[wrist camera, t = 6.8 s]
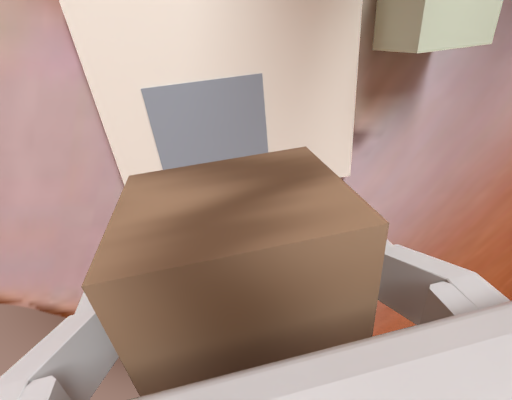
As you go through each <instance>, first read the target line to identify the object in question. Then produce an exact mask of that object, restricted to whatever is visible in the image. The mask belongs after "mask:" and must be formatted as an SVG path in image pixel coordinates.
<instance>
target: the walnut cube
mask: <svg viewBox="0 0 512 400" xmlns="http://www.w3.org/2000/svg"><path fill="white" fill-rule="evenodd" d="M388 227H389V222H387V221H386V220H385V219H384V218H383V217H382V216H381V215H380V214H379V213H378V212H377V211H376V210H374V209H373V208H372V207H371V206H370V205H369V204H368V203H367V202H366V201H365V200H364V199H362V198H361V197H360V196H359V195H358V194H357V193H356V192H355V191H354V190H353V189H352V188H351V187H349V186H348V185H347V184H346V183H345V182H344V181H343V180H342V179H341V178H340V177H339V176H337V175H336V174H335V173H334V172H333V171H332V170H331V169H330V168H329V167H328V166H327V165H325V164H324V163H323V162H322V161H321V160H320V159H319V158H318V157H317V156H316V155H315V154H314V153H312V152H311V151H310V150H309V149H308V148H307V147H306V146H305V147H299V148H293V149H287V150H281V151H275V152H269V153H263V154H257V155H251V156H245V157H239V158H232V159H226V160H220V161H214V162H208V163H202V164H196V165H190V166H184V167H178V168H172V169H166V170H160V171H154V172H148V173H142V174H136V175H130V176H129V177H128V179H127V181H126V184H125V186H124V188H123V191H122V193H121V195H120V198H119V200H118V202H117V205H116V207H115V209H114V212H113V214H112V216H111V219H110V221H109V223H108V226H107V228H106V230H105V233H104V235H103V237H102V240H101V242H100V244H99V247H98V249H97V251H96V254H95V256H94V258H93V261H92V263H91V265H90V268H89V270H88V272H87V275H86V277H85V279H84V282H83V284H82V286H81V287H82V289H83V291H84V292H85V294H86V296H87V298H88V300H89V302H90V304H91V306H92V307H93V309H94V311H95V313H96V315H97V317H98V319H99V321H100V322H101V324H102V326H103V328H104V330H105V332H106V334H107V335H108V337H109V339H110V341H111V343H112V345H113V347H114V349H115V350H116V352H117V354H118V356H119V358H120V360H121V362H122V364H123V365H124V367H125V369H126V371H127V373H128V375H129V377H130V378H131V380H132V382H133V384H134V386H135V388H136V389H137V392H138V393H139V395H140V396H144V395H148V394H152V393H156V392H160V391H164V390H168V389H171V388H175V387H179V386H183V385H187V384H191V383H195V382H199V381H202V380H206V379H210V378H214V377H218V376H222V375H226V374H229V373H233V372H237V371H241V370H245V369H249V368H253V367H257V366H260V365H264V364H268V363H272V362H276V361H280V360H284V359H288V358H291V357H295V356H299V355H303V354H307V353H311V352H315V351H319V350H322V349H326V348H330V347H334V346H338V345H342V344H346V343H350V342H353V341H357V340H361V339H365V338H369V337H372V334H373V328H374V321H375V314H376V308H377V301H378V294H379V288H380V281H381V274H382V268H383V261H384V254H385V247H386V241H387V234H388Z"/></svg>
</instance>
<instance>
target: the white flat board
mask: <svg viewBox="0 0 512 400" xmlns="http://www.w3.org/2000/svg"><path fill="white" fill-rule="evenodd" d="M59 2H60V5H61V8H62V11H63V13H64V16H65V19H66V22H67V25H68V27H69V30H70V33H71V36H72V39H73V42H74V44H75V47H76V50H77V53H78V56H79V59H80V61H81V64H82V67H83V70H84V73H85V76H86V78H87V81H88V84H89V87H90V90H91V93H92V95H93V98H94V101H95V104H96V107H97V109H98V112H99V115H100V118H101V121H102V124H103V126H104V129H105V132H106V135H107V138H108V141H109V143H110V146H111V149H112V152H113V155H114V158H115V160H116V163H117V166H118V169H119V172H120V175H121V177H122V180H123V183H124V186H125V184H126V181H127V179H128V177H129V176H130V175H136V174H142V173H148V172H154V171H160V170H166V169H172V168H178V167H184V166H190V165H196V164H202V163H208V162H214V161H220V160H226V159H232V158H239V157H245V156H251V155H257V154H263V153H269V152H275V151H281V150H287V149H293V148H299V147H305V146H306V147H307V148H308V149H309V150H310V151H311V152H312V153H314V154H315V155H316V156H317V157H318V158H319V159H320V160H321V161H322V162H323V163H324V164H325V165H327V166H328V167H329V168H330V169H331V170H332V171H333V172H334V173H335V174H336V175H337V176H339V177H340V178H341V177H347V176H350V172H351V158H352V144H353V130H354V116H355V101H356V87H357V73H358V59H359V45H360V31H361V16H362V2H363V0H59Z"/></svg>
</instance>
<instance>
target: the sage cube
mask: <svg viewBox="0 0 512 400" xmlns="http://www.w3.org/2000/svg"><path fill="white" fill-rule="evenodd" d="M502 4H503V0H377V5H376V16H375V27H374V38H373V49H372V50H379V51H391V52H404V53H425V52H433V51H441V50H448V49H456V48H464V47H472V46H480V45H487V44H492V41H493V37H494V33H495V30H496V26H497V22H498V18H499V15H500V11H501V7H502Z"/></svg>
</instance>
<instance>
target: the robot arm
mask: <svg viewBox="0 0 512 400" xmlns="http://www.w3.org/2000/svg"><path fill="white" fill-rule="evenodd" d="M378 300H379V301H380V302H382V303H384V304H385V305H387V306H388V307H390V308H391V309H393V310H395V311H396V312H398V313H399V314H401V315H402V316H404V317H405V318H407V319H409V320H410V321H412V322H413V323H415V324H416V325H415V326H411V327H408V328H404V329H400V330H396V331H392V332H388V333H384V334H380V335H377V336H373V337H369V338H365V339H361V340H357V341H353V342H350V343H346V344H342V345H338V346H334V347H330V348H326V349H322V350H319V351H315V352H311V353H307V354H303V355H299V356H295V357H291V358H288V359H284V360H280V361H276V362H272V363H268V364H264V365H260V366H257V367H253V368H249V369H245V370H241V371H237V372H233V373H229V374H226V375H222V376H218V377H214V378H210V379H206V380H202V381H199V382H195V383H191V384H187V385H183V386H179V387H175V388H171V389H168V390H164V391H160V392H156V393H152V394H148V395H144V396H140V397H137V398H133V399H129V400H512V301H510V300H509V299H508V298H506V297H505V296H504V295H503V294H502V293H500V292H499V291H498V290H497V289H495V288H494V287H493V286H492V285H491V284H489V283H488V282H487V281H486V280H484V279H483V278H482V277H481V276H479V275H478V274H477V273H476V272H473V271H470V270H467V269H465V268H462V267H459V266H456V265H454V264H451V263H448V262H445V261H442V260H440V259H437V258H434V257H431V256H429V255H426V254H423V253H420V252H418V251H415V250H412V249H409V248H406V247H404V246H401V245H398V244H396V245H393V244H392V243H391V242H390V241H389V240H388V239H387V241H386V247H385V254H384V261H383V268H382V274H381V281H380V288H379V294H378ZM118 358H119V356H118V354H117V352H116V350H115V349H114V347H113V345H112V343H111V341H110V339H109V337H108V335H107V334H106V332H105V330H104V328H103V326H102V324H101V322H100V321H99V319H98V317H97V315H96V313H95V311H94V309H93V307H92V306H91V304H90V302H89V300H88V298H87V296H86V294H85V292H83V295H82V297H81V299H80V302H79V304H78V307H77V309H76V312H75V314H74V315H71V316H68V317H67V318H66V319H65V320H64V321H63V322H62V323H60V324H59V325H58V326H57V327H56V328H55V329H54V330H53V331H51V332H50V333H49V334H48V335H47V336H46V337H45V338H44V339H42V340H41V341H40V342H39V343H38V344H37V345H36V346H35V347H33V348H32V349H31V350H30V351H29V352H28V353H27V354H26V355H24V356H23V357H22V358H21V359H20V360H19V361H18V362H17V363H15V364H14V365H13V366H12V367H11V368H10V369H9V370H8V371H6V372H5V373H4V374H3V375H2V376H1V377H0V400H90V398H91V397H92V395H93V394H94V392H95V391H96V389H97V388H98V387H99V385H100V384H101V382H102V380H103V379H104V378H105V376H106V375H107V373H108V372H109V371H110V369H111V368H112V366H113V365H114V363H115V362H116V360H117V359H118Z"/></svg>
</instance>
